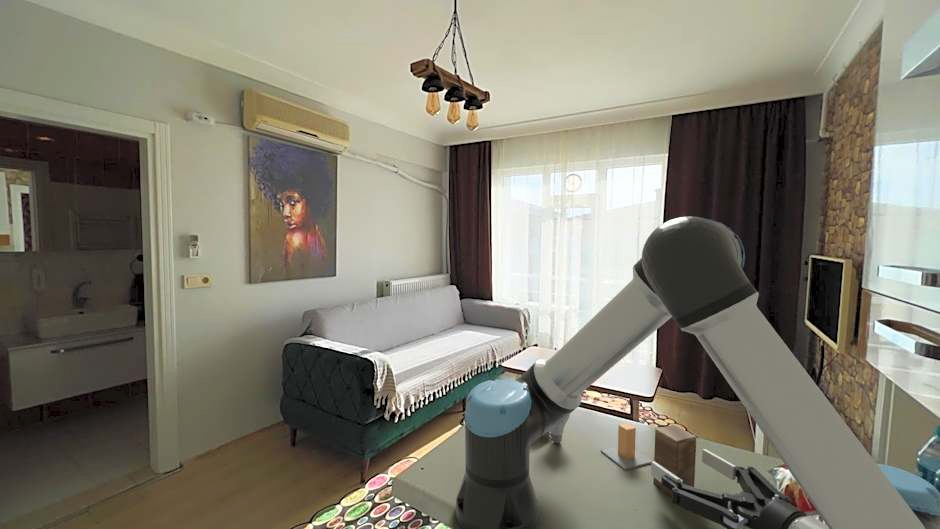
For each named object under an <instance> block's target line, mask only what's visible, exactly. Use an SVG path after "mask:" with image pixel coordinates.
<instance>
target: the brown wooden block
mask: <svg viewBox="0 0 940 529" xmlns="http://www.w3.org/2000/svg"><path fill="white" fill-rule="evenodd" d="M654 430H655V431H654V434H655V435H654V455H653V456H654V458H653V462H654V461H655V462H656V463H658V464H659V465H661V466H662V467H664V468H665V469H667V470H668V471H669V472H671V473H672V474H674V475H675V476H677V477H678V478H680V479H681V480H683V484H684V485H688V486H692V487H695V476H696V454H697V450H696V449H697V436H696V435H694V434H692V433H691V432H689V431H687V430H685V429H683V428H681V427H680V426H677V425H676V424H672V425H667V426H662V427H658V428H657V427H656V428H655V429H654ZM653 484H655V485H656V486H657V487H659V488H660V489H661V490H662V491H664V492H665V493H666V494H668V495H669V496H670V497H672V492H671V491H670V490H668V489H667V488H666V487H664V486H663V485H662V484H661V482H660V481H658V480H657V479H655V478H654V477H653ZM685 492H686V491H685Z"/></svg>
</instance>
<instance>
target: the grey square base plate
mask: <svg viewBox="0 0 940 529" xmlns="http://www.w3.org/2000/svg"><path fill="white" fill-rule="evenodd" d="M636 431H637V430H636V427H635V426H633V425H631V424H630V423H629V422H625V423H620V424H618V430H617V432H618V435H617V438H618V440H617V445H615V446H612V447H608V448H604V449H600V452H601V453H602V454H604V455H605V456H606V457H607V458H608V459H610V460H611V461H612V462H614V463H615V464H616V465H618V466H619V467H620V468H622V469H623V470H624V471H626V470H630V469H635V468H638V467H642V466H647V465H651V464H652V462H654V460H651V459H650V458H649V457H647V456H646V455H644V454H643V453H642V452H640V451H639V450H637V449H636Z"/></svg>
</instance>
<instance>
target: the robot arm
mask: <svg viewBox="0 0 940 529" xmlns="http://www.w3.org/2000/svg"><path fill="white" fill-rule="evenodd" d="M745 254H746V253H745V247H744V245H743V242H742V240H741V239H740V237H739V235H737V234H736V233H735V232H734V231H733V230H732V229H731V227H728V226H726V225H725V224H723V223H722V222H719V221H717V220H714V219H708V218H704V217H699V216H680V217H676V218H673V219H670V220H667V221H666V222H663V223H662V224H660V225H659V226H657V227H656V228H655V229H654V230H653V231H652V232H651V233H650V234H649V236H648V237H647V239H646V241H645V243H644V244H643V248H642V251H641V258H640V259H639V260H638V261H636V263H635V264H633V266H632V279H631V280H630V281H629V282H628V283H627V284H626V285H625V286H624V287H623V288H622V289H621V290H620V291H618V293H617V294H616V295H615V296H614V297H613V298H612V299H610V301H609V302H607V304H606V305H605V306H603V307H602V308H601V309H600V310H599V311H598V312H597V313H596V314H595V315H594V316H593V317H592V318H591V319H590V320H589V321H588V322H586V324H585V325H584V326H582V328H580V330H578V331H577V332H576V333H575V334H574V335H573V336H572V337H571V338H570V339H569V340H567V342H566V343H565V344H564V345H563V346H562V347H560V349H558V350H557V352H555V354H554V355H552V356H551V357H550V358H549V357H548V358H547V357H541V358H539V359H537V360H536V361H535V362H534V363H533V364H532V365H531V366H529V368H528V369H527V370H526V371H525V372H524V373H523V374H521V375H520V376H519V377H518V378H517V379H515V380H514V379H510V378H495V379H494V380H492V379H489V380H485V381H483V382H481V383H480V382H479V383H478V384H477V385H476V386H474V387H472V389H471V390H470V392H469V393H468V394H467V398H466V404H465V409H464V410H465V411H464V421H465V422H464V424H465V433H464V434H465V437H464V438H465V472H464V475H463V478H462V480H461V484H460V487H459V489H458V492H457V495H456V500H455V518H456V521H457V523H458V525H459V527H460V528H461V529H536V528H537V525H538V522H539V502H538V497H537V495H536V493H535V489H534V486H533V482H532V479H531V476H530V450H531V447H532V446H533V445H534V443H536V442H537V441H539V440H540V439H541V438H542V437H543V436H545V435H546V434H548V433H549V432H550V431H549V430H551V429H552V428H553V427H554V426H556V425H558V424H559V423H561V422H562V421H563V420H565V419H566V417H567V416H568V415H569V414H570V415H571V414H572V413H573V412H574V411H575V410H576V409H577V408H578V407H579V406H580V405H581V404H582V393H583V392H584V391H586V390H587V389H588V388H589V387H590V386H592V385H593V384H594V383H595V382H596V381H597V380H598V379H600V378H601V377H602V376H604V375H605V374H606V373H607V372H608V371H609V370H611V369H612V368H613V367H614V366H615V365H617V364H618V363H619V362H620V361H622V359H624V358H625V357H626V356H628V355H629V353H631V352H632V351H633V350H634V349H636V348H637V347H638V346H639V345H640V344H641V343H643V342H644V341H645V340H646V339H647V338H649V337H650V336H651V335H652V334H654V333H655V332H656V331H657V330H658V329H659V328H661V327H662V326H664V324H665V323H666V322H667V321H669V320H670V319H672V318H673V321H674V322H675V323H676V325H677V326H678V327H679V329H680V330H681V331H683V332H686V333H689V334H693V335H694V336H695V337H696V338H697V340H698V341H699V343H700V344H701V345H702V347H703V349H704V350H705V351H706V353H707V354H708V356H709V357H710V358H711V360H712V361H713V363H714V365H715V366H716V367H717V369H718V370H719V372H720V373H721V374H722V376H723V377H724V379H725V380H726V382H727V383H728V384H729V386H730V387H731V389H732V390H733V392H734V393H735V395H736V396H737V398H738V399H739V401H740V402H741V403H742V405H743V406H744V408H745V409H746V410H747V413H749V415H750V416H751V418H752V419H753V421H754V422H755V423H756V425H757V426H758V427H759V428H758V429H760V430H761V432H762V434H763V435H764V436H765V438H766V440H768V442H769V443H770V445H771V447H772V448H773V450H774V451H775V453H776V454H777V455H778V457H779V458H780V460H781V461H782V462H783V464H784V465H785V467H786V468H787V470H788V471H789V473H790V474H791V476H792V477H793V479H794V480H795V481H796V482H797V484H798V486H799V487H800V488H801V490H802V491H803V493H804V494H805V496H806V497H807V499H808V501H809V502H810V503H811V504H812V506H813V507H814V508H815V510H816V511H817V513H818V515H819V516H820V518H822V520H823V522H822V521H821V520H819V519H817V518H816V517H813V515H808V514H807V513H806V512H804V511H803V510H801V509H800V508H798V507H796V506H794V505H793V504H792V499H791V498H790V497H788V496H787V495H785V494H784V493H782V492H781V491H780V490H778V488H776V486H774V485H773V484H772V483H771V482H770V481H769V480H768V479H766V477H765V476H764V475H763V474H762V473H760V471H758V469H756V468H755V467H753V466H747V468H745V467H743V466H740V465H739V466H737V465H736V464H733V463H732V462H730V461H728V460H726V459H724V458H722V457H721V456H719V455H717V454H716V453H713V452H711V451H710V450H708V449H706V448H703V449H702V451H701V452H702V456H701V461H702V463H703V464H705V465H707V466H708V467H709V468H712V469H713V470H715V471H716V472H718V473H720V474H721V475H723V476H724V477H726V478H728V479H730V480H731V481H735V480H736V484H739V486H740V488H741V490H742V492H740V493H737V494H730V493H726V492H723V493H722V494H719V493H716V492H712V491H709V490H706V489H702V488H698V487H695V486H694V487H692V486H688V485H684V484H683V480H681V479H680V478H678V477H677V476H675V475H674V474H672V473H671V472H669V471H668V470H667V469H665V468H664V467H662V466H661V465H659V464H658V463H656V462H655V461H654V460H653V462H652V463H651V464H650V465H651V466H650V467H651V468H650V469H651V470H650V476H652V477H653V479H654V478H655V479H657V480H658V481H660V482H661V484H662V485H663V486H664V487H666V488H667V489H668V490H670V491H671V492H672V496H671V503H672V504H673V505H674V506H677V507H679V508H681V509H683V510H686V511H689V512H691V513H692V514H695V515H698V516H700V517H702V518H704V519H707V520H709V521H710V522H713V523H716V524H718V525H721V526H722V527H724V528H725V529H740V527H741V526H744V527H746V528H749V529H940V491H939V490H938V489H937V488H936V487H935V486H934V485H933V484H932V483H930V482H929V481H927V480H926V479H924V478H922V477H920V476H918V475H917V474H914V473H912V472H910V471H906V470H904V469H901V468H899V467H896V466H890V465H887V464H883V463H876V461H875V459H873V457H872V456H871V455H870V453H869V452H868V451H867V449H866V448H865V446H864V445H863V444H862V443H861V441H860V439H858V437H857V436H856V435H855V434H854V433H853V430H851V428H850V426H848V424H847V423H846V422H845V421H844V419H843V417H842V416H841V415H840V414H839V413H838V411H837V410H836V408H835V407H834V406H833V405H832V403H831V402H830V401H829V400H828V398H827V396H825V394H824V393H823V391H822V390H821V389H820V388H819V386H818V385H817V384H816V383H815V381H814V380H813V378H812V377H811V376H810V374H808V372H807V371H806V369H805V368H804V367H803V365H802V364H801V362H800V361H799V360H798V359H797V358H796V356H795V355H794V353H793V352H792V350H790V348H789V347H788V345H787V344H786V343H785V342H784V340H783V339H782V338H781V336H780V335H779V334H778V332H777V331H776V330H775V329H774V327H773V326H772V324H771V323H770V322H769V321H768V319H767V318H766V317H765V315H764V314H763V313H762V311H761V310H760V309H759V308H758V304H757V303H758V299H759V295H760V293H759V292H758V290H757V289H756V287H755V286H754V285H753V284H752V283H751V281H750V280H749V278H748V277H747V275H746V273H745V272H744V270H743V268H744V266H745V260H746V255H745ZM548 431H549V432H548ZM547 432H548V433H547ZM685 491H686V492H685ZM729 502H730V505H729ZM729 507H730V509H729Z"/></svg>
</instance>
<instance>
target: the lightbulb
mask: <svg viewBox="0 0 940 529" xmlns="http://www.w3.org/2000/svg"><path fill="white" fill-rule="evenodd" d="M570 415H571V413H570V414H569V415H568V416H567V417H566V419H565V420H563V421H562V422H561V423H559V424H558V425H556V426H554V427H553V428H552V429H551V430H550V431H549V432H550V433H551V436H550V437H551V438H550V439H551V441H552V442H553V443H554V444H560V443H561V442H562V440H563V439H562V438H563V434H564V428H565V426H566V423H568V421H569V419H570Z"/></svg>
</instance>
